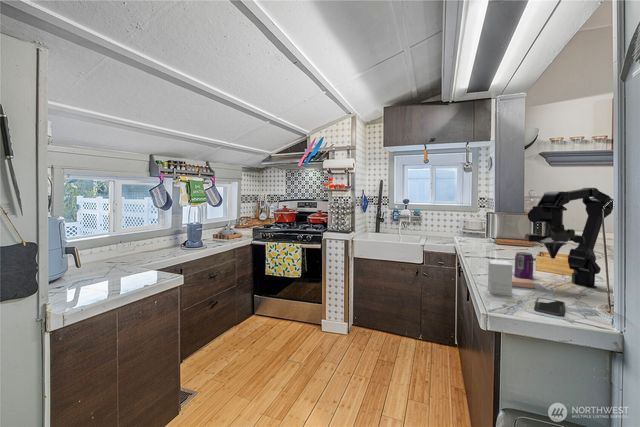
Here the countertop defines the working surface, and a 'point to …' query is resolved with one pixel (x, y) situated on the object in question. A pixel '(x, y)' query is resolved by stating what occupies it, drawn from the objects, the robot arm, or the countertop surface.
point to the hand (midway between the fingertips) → (552, 258)
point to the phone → (550, 307)
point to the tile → (522, 283)
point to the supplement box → (500, 277)
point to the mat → (537, 288)
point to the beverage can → (524, 265)
